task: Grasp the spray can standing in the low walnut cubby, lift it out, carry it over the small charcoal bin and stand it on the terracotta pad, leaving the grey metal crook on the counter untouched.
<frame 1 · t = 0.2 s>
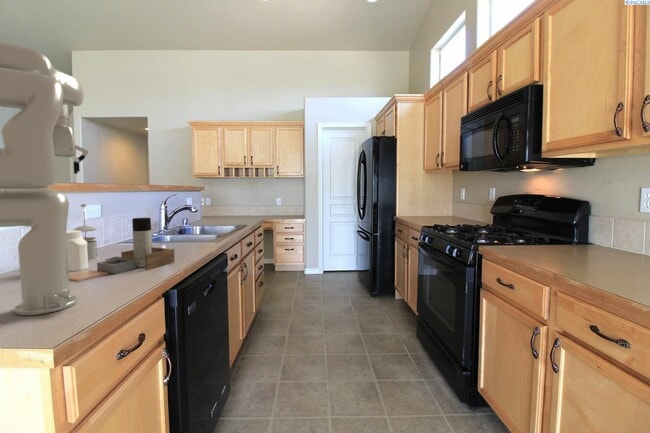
hand: (58, 173, 107), 37 cm above the counter, tool pointing down, fingers open, 9 cm apart
cubby: (143, 265, 128), on the counter
bin: (117, 270, 120), on the counter
crook: (128, 260, 138), on the counter
jar: (70, 269, 121), on the counter
french press: (85, 260, 137), on the counter
pad: (84, 276, 112), on the counter
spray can: (143, 266, 128), resting in cubby
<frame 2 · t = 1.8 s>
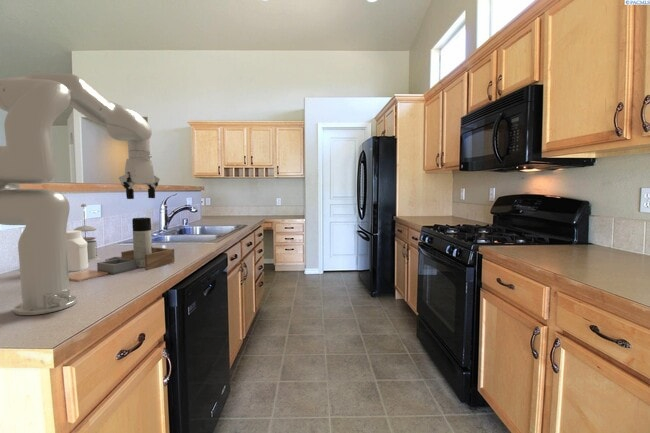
hand: (141, 198, 126), 28 cm above the counter, tool pointing down, fingers open, 9 cm apart
nothing on the counter moved.
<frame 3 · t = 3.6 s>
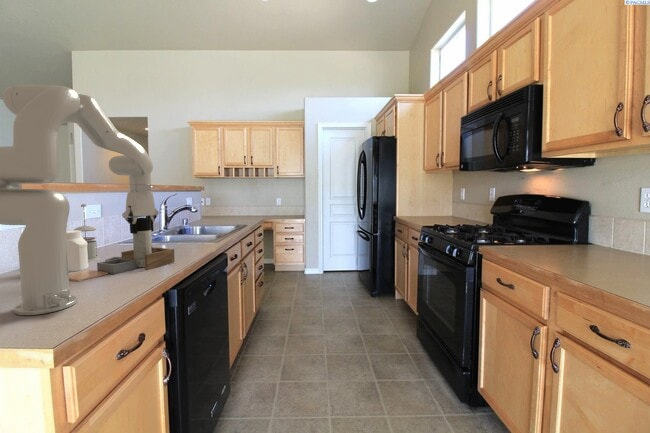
hand: (142, 231, 127), 14 cm above the counter, tool pointing down, fingers closed on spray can, 6 cm apart
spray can: (143, 266, 128), resting in cubby, touching gripper
everything else where it was.
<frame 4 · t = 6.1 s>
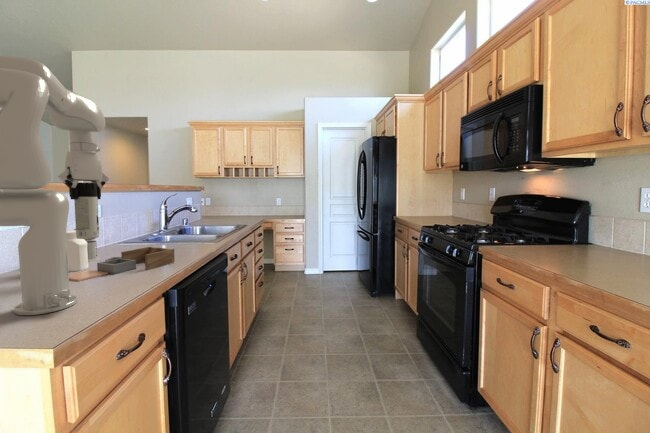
hand: (86, 198, 111), 28 cm above the counter, tool pointing down, fingers closed on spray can, 6 cm apart
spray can: (87, 238, 112), point 14 cm above the counter, touching gripper
everything else where it was.
when the fingers open (16 cm above the counter, at t = 8.8 s): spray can stays where it is, resting on pad.
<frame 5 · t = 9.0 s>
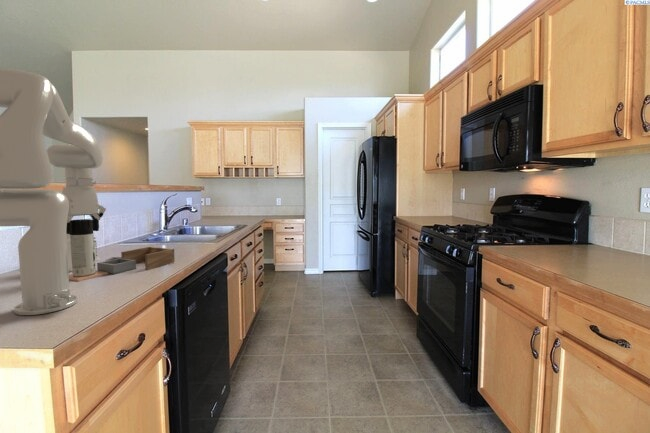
hand: (82, 232, 111), 16 cm above the counter, tool pointing down, fingers open, 8 cm apart
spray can: (84, 275, 112), resting on pad
everything else where it was.
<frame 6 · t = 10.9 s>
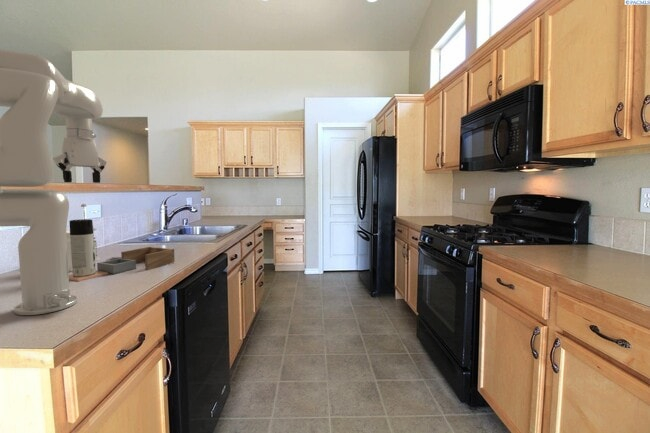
hand: (82, 182, 114), 34 cm above the counter, tool pointing down, fingers open, 9 cm apart
nothing on the counter moved.
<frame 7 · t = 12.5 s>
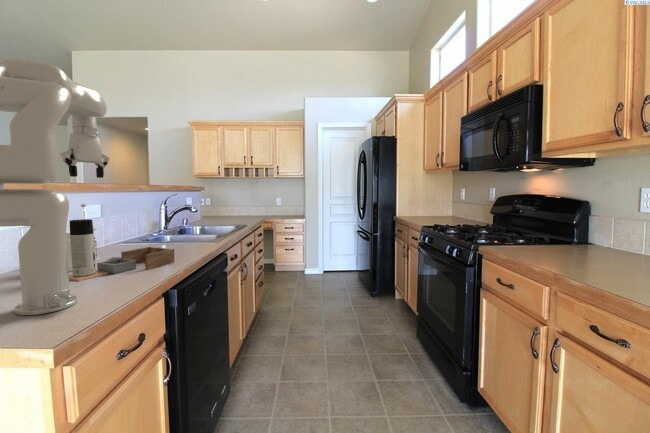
hand: (87, 177, 121), 36 cm above the counter, tool pointing down, fingers open, 9 cm apart
at the end: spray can inside the target area on the pad (0.2 cm from its centre), point 0.4 cm above the pad's base; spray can tilted 0°; the gripper is holding nothing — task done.
